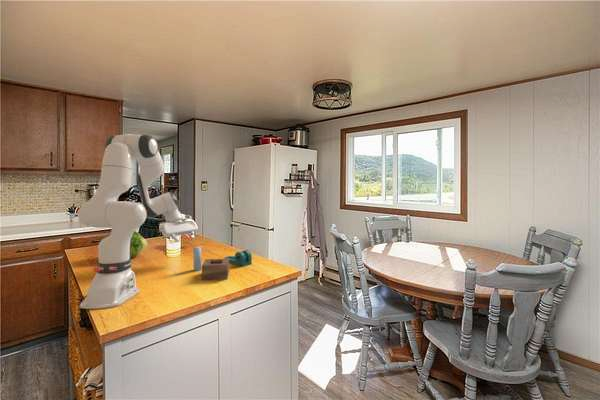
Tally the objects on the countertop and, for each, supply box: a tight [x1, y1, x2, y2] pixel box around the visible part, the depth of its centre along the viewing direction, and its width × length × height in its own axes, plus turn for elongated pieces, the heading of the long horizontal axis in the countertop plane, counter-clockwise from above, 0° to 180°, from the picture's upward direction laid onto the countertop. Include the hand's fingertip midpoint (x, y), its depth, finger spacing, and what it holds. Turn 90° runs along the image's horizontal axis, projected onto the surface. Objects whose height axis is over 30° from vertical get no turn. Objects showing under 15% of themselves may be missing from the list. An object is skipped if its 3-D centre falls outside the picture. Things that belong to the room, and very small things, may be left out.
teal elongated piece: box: [224, 249, 253, 267], centre depth 174 cm, size 18×7×8 cm, turn 52°
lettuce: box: [106, 230, 148, 259], centre depth 181 cm, size 19×23×18 cm
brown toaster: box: [201, 258, 230, 281], centre depth 150 cm, size 12×12×7 cm
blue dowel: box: [192, 246, 202, 272], centre depth 159 cm, size 4×4×12 cm
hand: (185, 240), depth 164 cm, fingers open, 8 cm apart
